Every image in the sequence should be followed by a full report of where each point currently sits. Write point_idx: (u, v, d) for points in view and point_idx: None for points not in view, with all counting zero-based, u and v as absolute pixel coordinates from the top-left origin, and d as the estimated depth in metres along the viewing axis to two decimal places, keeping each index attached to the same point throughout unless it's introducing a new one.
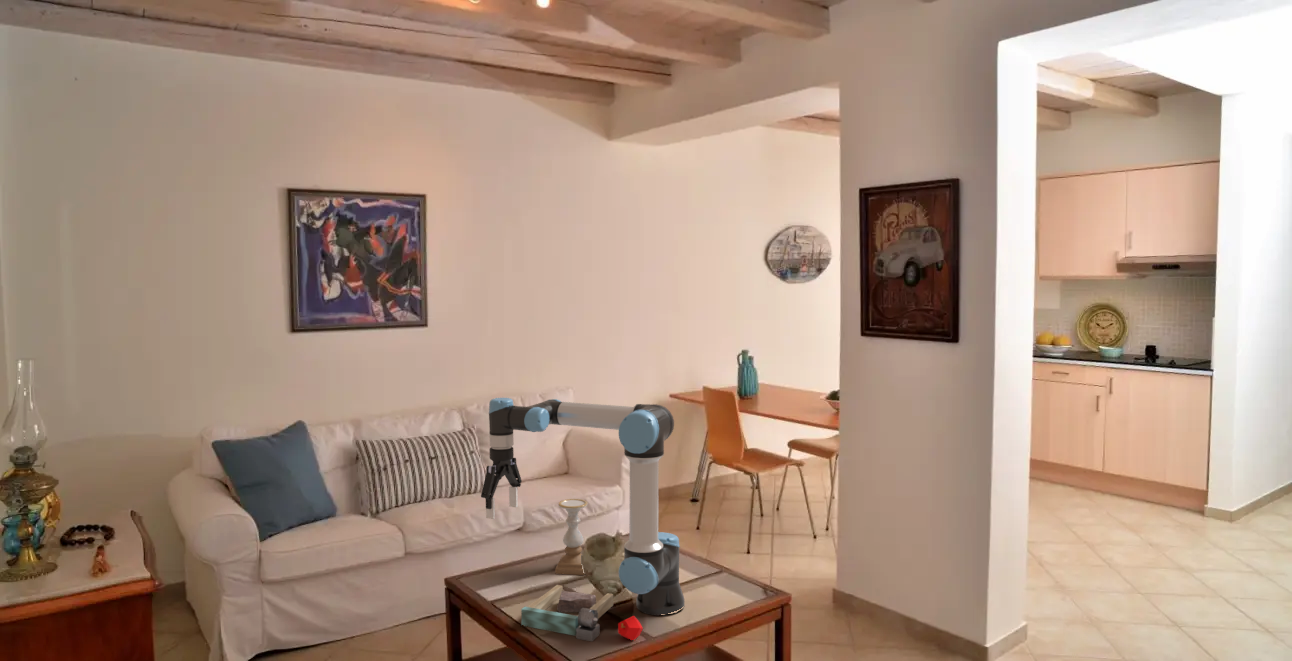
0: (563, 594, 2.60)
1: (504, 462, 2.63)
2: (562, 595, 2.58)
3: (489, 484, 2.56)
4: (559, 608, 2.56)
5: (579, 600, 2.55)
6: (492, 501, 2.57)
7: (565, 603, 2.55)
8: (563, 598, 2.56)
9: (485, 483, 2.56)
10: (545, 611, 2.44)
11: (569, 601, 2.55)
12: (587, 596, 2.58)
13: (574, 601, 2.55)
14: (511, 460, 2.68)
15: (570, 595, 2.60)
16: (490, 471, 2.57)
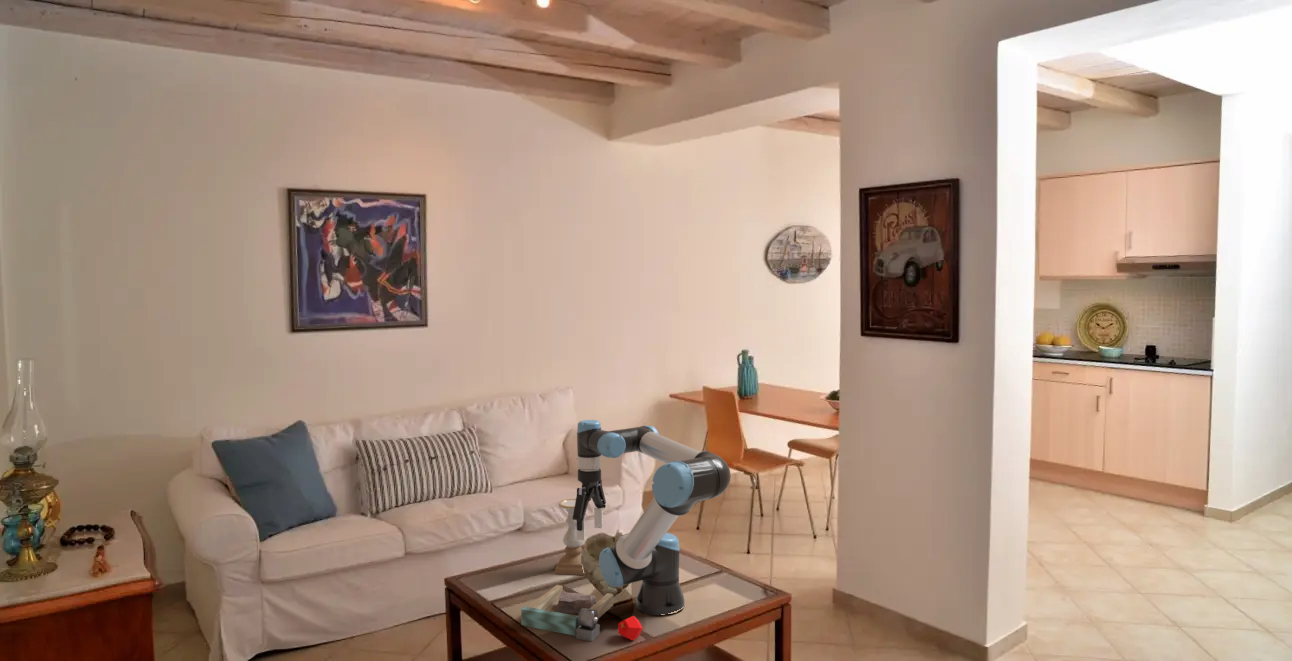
0: (563, 595, 2.59)
1: (592, 484, 2.66)
2: (562, 596, 2.58)
3: (580, 506, 2.58)
4: (559, 609, 2.55)
5: (579, 601, 2.54)
6: (583, 523, 2.60)
7: (565, 604, 2.55)
8: (563, 599, 2.55)
9: (576, 505, 2.59)
10: (545, 611, 2.44)
11: (569, 602, 2.54)
12: (587, 597, 2.58)
13: (574, 602, 2.54)
14: (597, 481, 2.71)
15: (569, 596, 2.59)
16: (581, 493, 2.60)
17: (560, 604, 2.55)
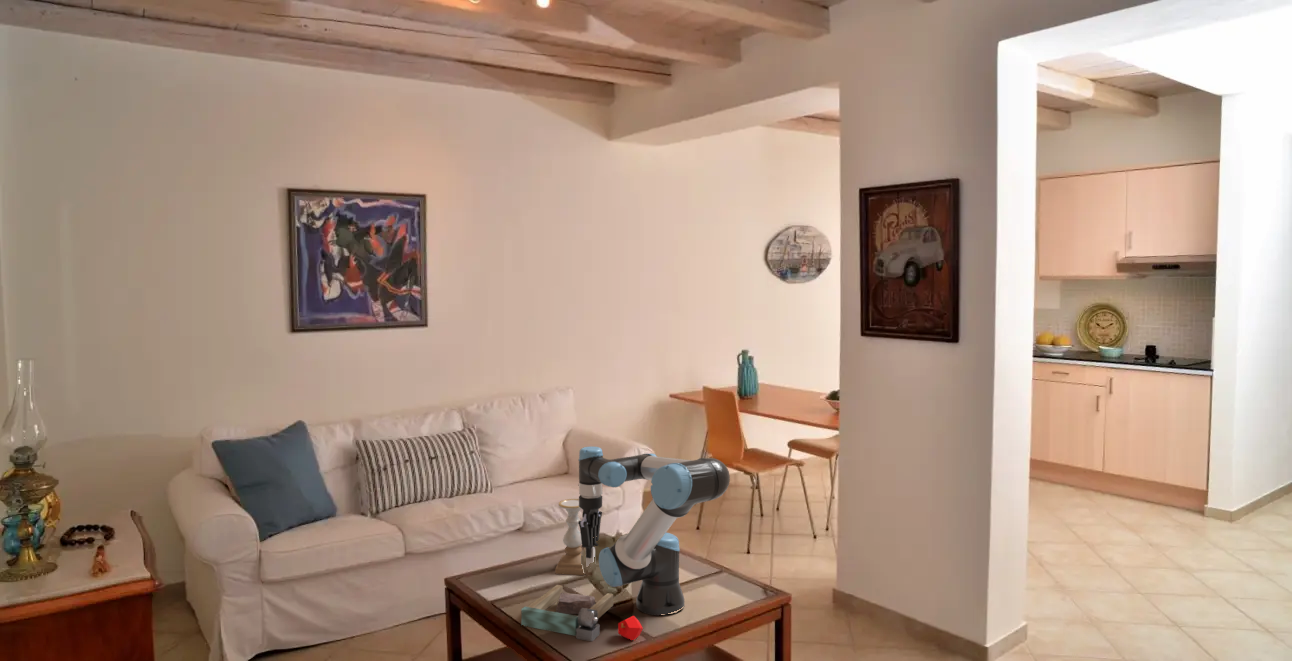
0: (562, 596, 2.58)
1: (593, 510, 2.67)
2: (561, 597, 2.57)
3: (586, 537, 2.63)
4: (558, 610, 2.54)
5: (578, 602, 2.54)
6: (592, 550, 2.67)
7: (564, 605, 2.54)
8: (562, 600, 2.55)
9: (582, 536, 2.64)
10: (545, 611, 2.44)
11: (568, 602, 2.54)
12: (586, 598, 2.57)
13: (573, 603, 2.54)
14: (598, 512, 2.72)
15: (569, 597, 2.59)
16: (583, 526, 2.62)
17: (559, 605, 2.54)
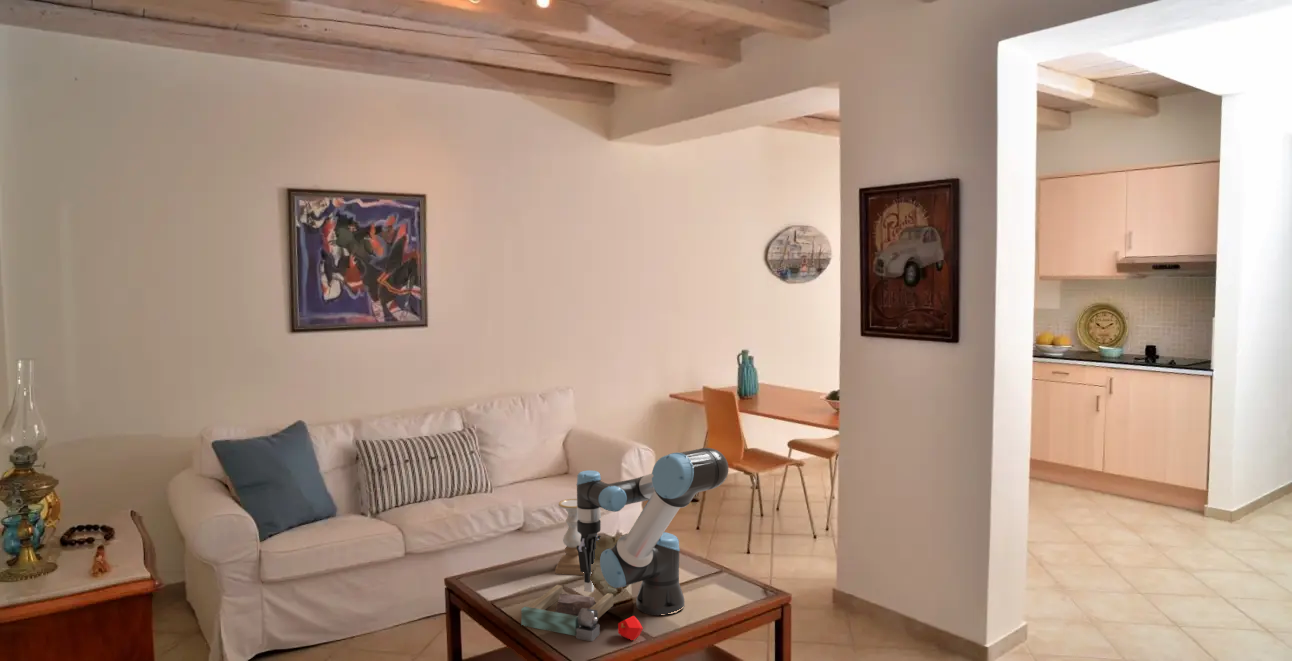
0: (562, 596, 2.58)
1: (591, 534, 2.66)
2: (561, 597, 2.57)
3: (585, 562, 2.63)
4: (558, 611, 2.54)
5: (578, 602, 2.53)
6: (590, 575, 2.66)
7: (564, 606, 2.53)
8: (562, 600, 2.54)
9: (580, 561, 2.63)
10: (545, 611, 2.44)
11: (568, 603, 2.53)
12: (586, 598, 2.57)
13: (573, 603, 2.53)
14: (596, 536, 2.71)
15: (568, 597, 2.58)
16: (581, 551, 2.61)
17: (559, 606, 2.54)
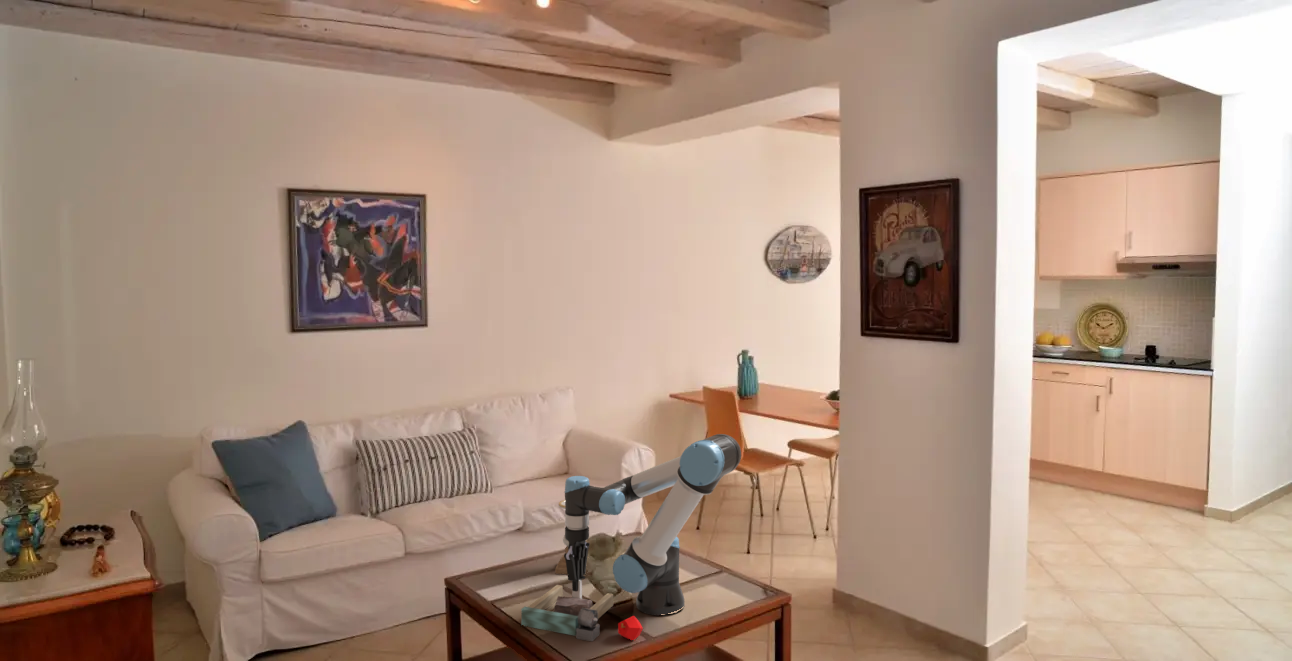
0: (559, 599, 2.55)
1: (580, 542, 2.58)
2: (558, 600, 2.54)
3: (572, 570, 2.55)
4: None
5: (575, 605, 2.51)
6: (578, 583, 2.59)
7: (561, 608, 2.51)
8: (559, 603, 2.52)
9: (568, 569, 2.56)
10: (545, 611, 2.44)
11: (565, 606, 2.51)
12: (583, 601, 2.54)
13: (570, 606, 2.51)
14: (585, 543, 2.63)
15: (566, 600, 2.56)
16: (569, 559, 2.54)
17: (556, 608, 2.51)
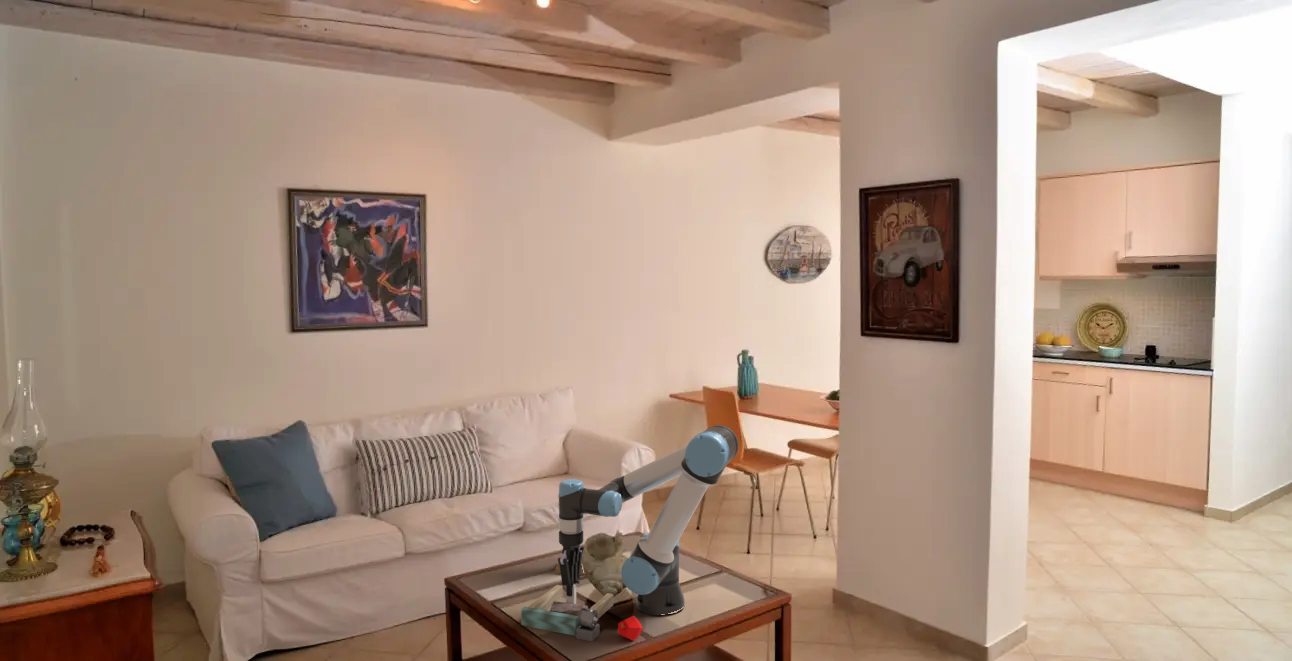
0: (554, 604, 2.52)
1: (574, 546, 2.55)
2: (553, 606, 2.50)
3: (566, 575, 2.51)
4: None
5: (570, 611, 2.47)
6: (573, 588, 2.55)
7: None
8: (554, 609, 2.48)
9: (562, 574, 2.52)
10: (545, 611, 2.44)
11: (560, 612, 2.47)
12: (579, 607, 2.50)
13: (565, 612, 2.47)
14: (579, 547, 2.60)
15: (561, 606, 2.52)
16: (563, 564, 2.50)
17: None
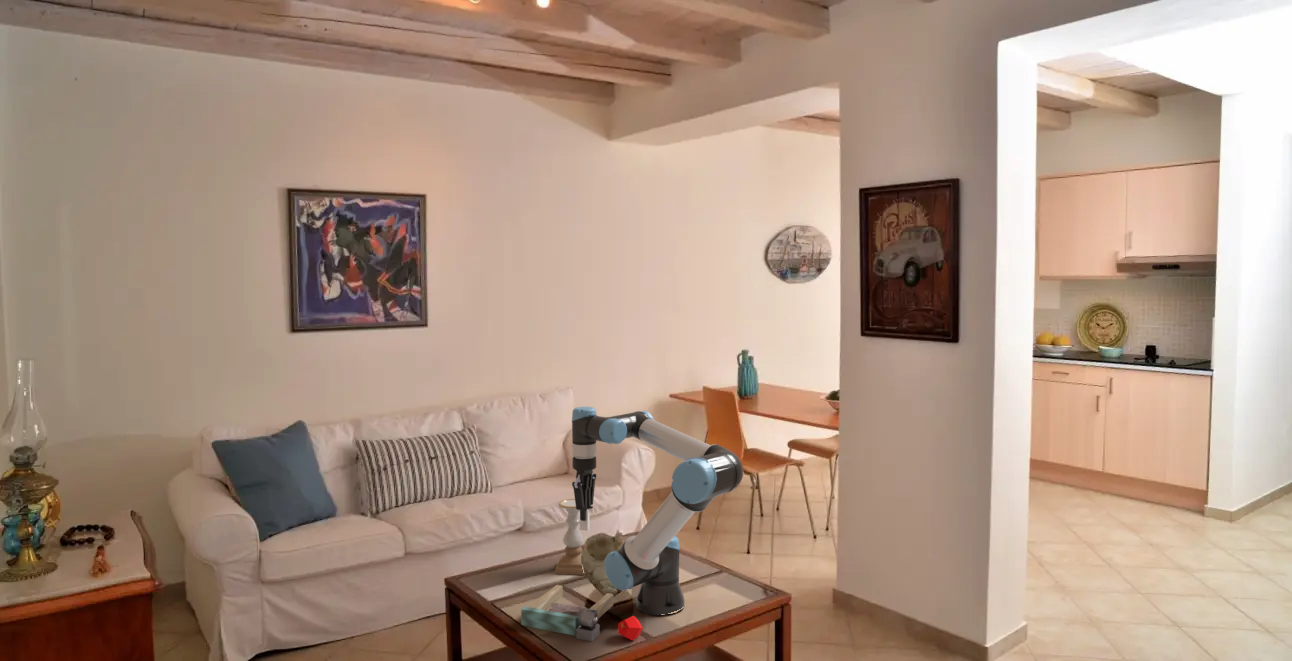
0: (553, 606, 2.51)
1: (587, 471, 2.61)
2: (551, 607, 2.49)
3: (580, 499, 2.58)
4: None
5: (568, 612, 2.46)
6: (586, 513, 2.61)
7: None
8: (552, 610, 2.47)
9: (576, 498, 2.58)
10: (545, 611, 2.44)
11: None
12: (577, 608, 2.49)
13: (563, 613, 2.46)
14: (592, 474, 2.66)
15: (560, 607, 2.51)
16: (577, 487, 2.56)
17: None
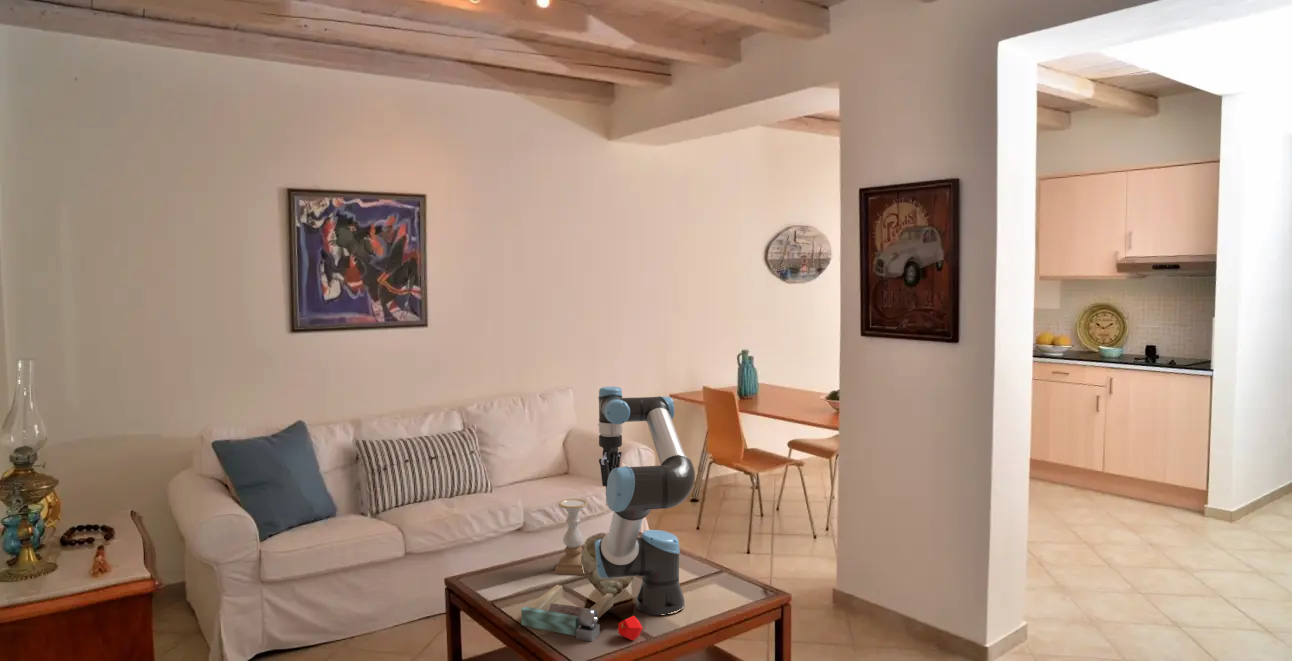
0: (552, 607, 2.50)
1: (613, 449, 2.70)
2: (550, 608, 2.49)
3: (607, 475, 2.66)
4: None
5: (567, 613, 2.45)
6: None
7: None
8: None
9: (602, 474, 2.67)
10: (545, 611, 2.44)
11: None
12: (576, 609, 2.49)
13: None
14: (617, 452, 2.75)
15: (559, 608, 2.50)
16: (603, 464, 2.65)
17: None
